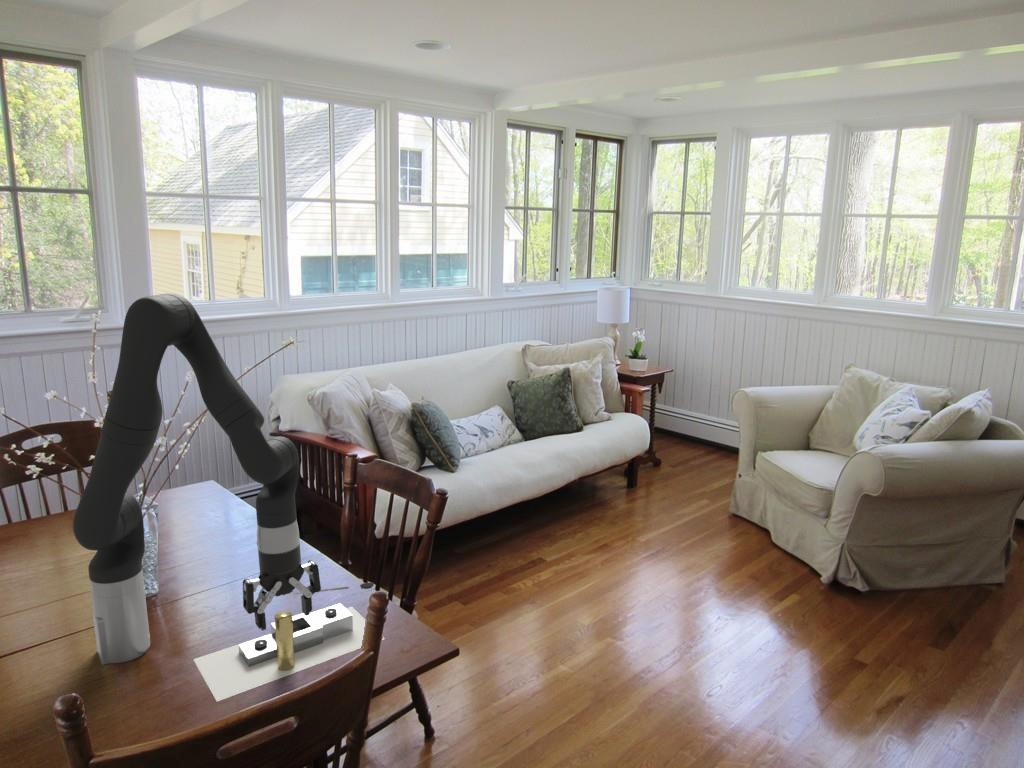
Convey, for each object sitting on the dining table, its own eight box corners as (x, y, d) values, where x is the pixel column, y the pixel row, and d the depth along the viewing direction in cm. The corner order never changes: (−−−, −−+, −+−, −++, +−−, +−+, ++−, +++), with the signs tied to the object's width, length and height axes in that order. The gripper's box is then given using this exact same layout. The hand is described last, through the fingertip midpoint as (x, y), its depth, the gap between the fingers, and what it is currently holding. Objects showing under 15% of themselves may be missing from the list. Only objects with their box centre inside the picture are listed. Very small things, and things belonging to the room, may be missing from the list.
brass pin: (281, 673, 140) (278, 621, 137) (275, 665, 142) (272, 614, 140) (297, 667, 142) (294, 616, 139) (291, 659, 144) (288, 609, 142)
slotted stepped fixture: (250, 669, 141) (248, 649, 140) (237, 650, 147) (236, 632, 146) (354, 631, 154) (353, 613, 153) (339, 616, 160) (338, 599, 159)
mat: (217, 704, 131) (216, 701, 131) (193, 661, 144) (193, 659, 144) (385, 641, 152) (385, 638, 152) (351, 608, 164) (351, 606, 164)
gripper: (246, 561, 129) (254, 642, 133) (322, 540, 138) (327, 617, 141) (233, 546, 135) (241, 625, 138) (307, 527, 143) (312, 601, 147)
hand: (284, 621), depth 140 cm, fingers open, 8 cm apart
